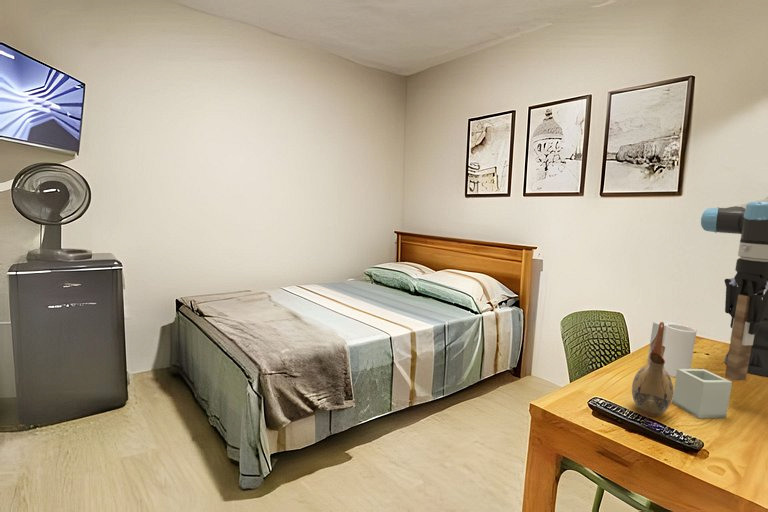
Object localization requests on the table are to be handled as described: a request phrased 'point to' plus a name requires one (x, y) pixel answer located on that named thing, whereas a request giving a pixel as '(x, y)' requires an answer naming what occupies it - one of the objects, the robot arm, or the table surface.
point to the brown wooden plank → (739, 343)
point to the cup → (678, 347)
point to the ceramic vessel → (653, 381)
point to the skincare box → (654, 333)
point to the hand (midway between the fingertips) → (741, 342)
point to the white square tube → (701, 393)
